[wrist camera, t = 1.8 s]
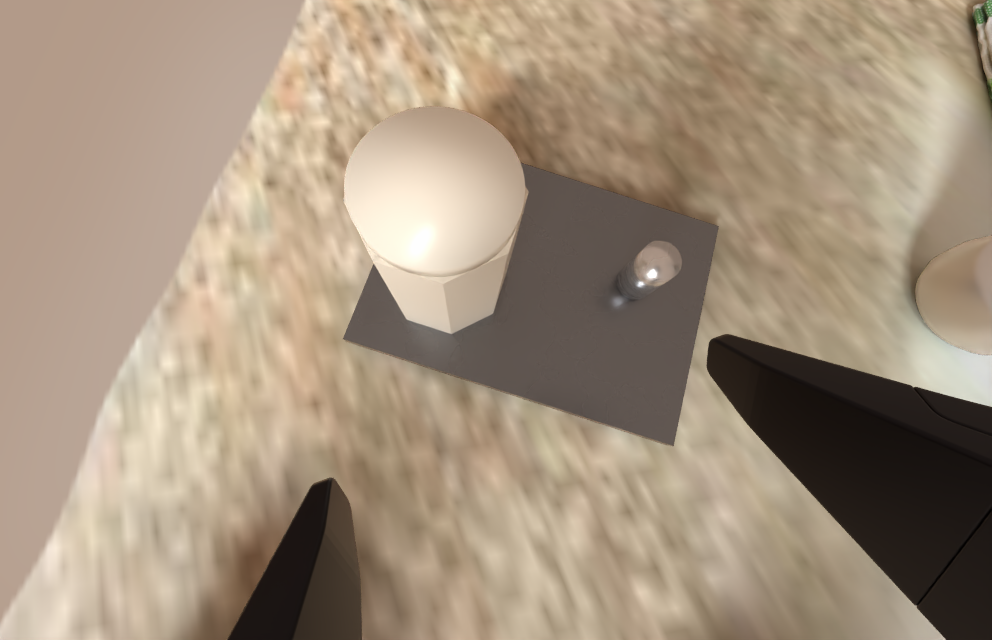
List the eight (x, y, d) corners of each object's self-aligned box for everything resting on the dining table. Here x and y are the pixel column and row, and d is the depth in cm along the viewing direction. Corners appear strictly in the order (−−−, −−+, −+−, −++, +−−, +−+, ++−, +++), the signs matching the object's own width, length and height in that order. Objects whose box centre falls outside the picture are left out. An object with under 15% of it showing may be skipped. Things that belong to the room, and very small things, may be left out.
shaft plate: (711, 232, 26) (757, 196, 22) (666, 445, 23) (710, 450, 19) (428, 141, 26) (421, 88, 22) (347, 341, 23) (321, 324, 19)
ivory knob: (515, 243, 24) (546, 137, 15) (482, 344, 23) (494, 293, 14) (414, 211, 25) (383, 84, 15) (375, 309, 23) (314, 235, 14)
